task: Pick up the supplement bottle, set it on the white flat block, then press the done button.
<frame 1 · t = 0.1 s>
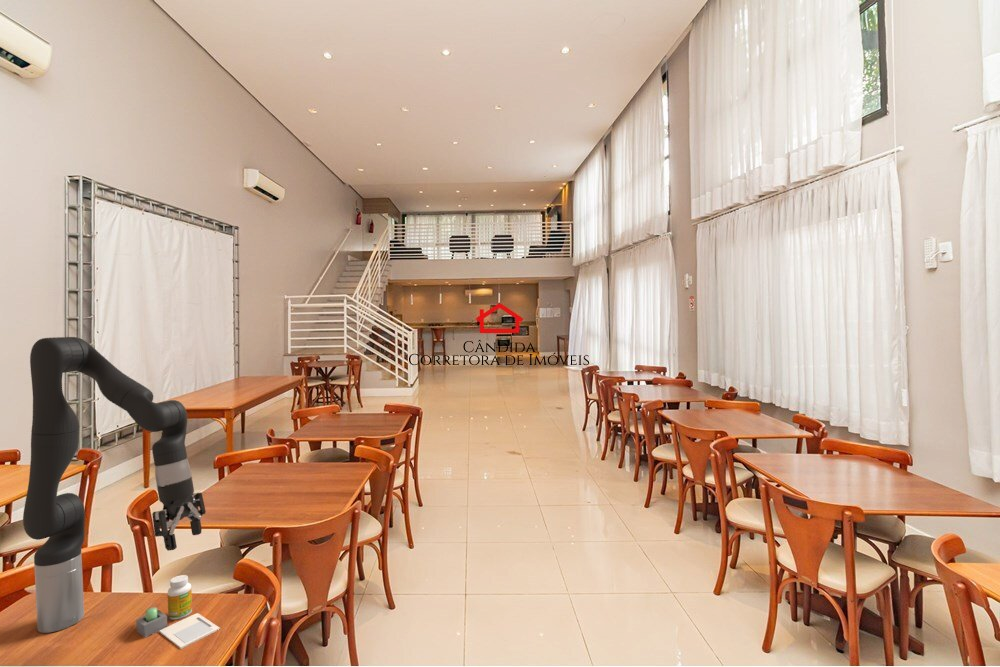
hand: (184, 541, 126), 22 cm above the table, tool pointing down, fingers open, 8 cm apart
button housing: (152, 629, 126), on the table
done button: (151, 616, 126), point 3 cm above the table, slide at 0.0 cm
supplement bottle: (180, 615, 133), on the table
white flat block: (189, 630, 125), on the table
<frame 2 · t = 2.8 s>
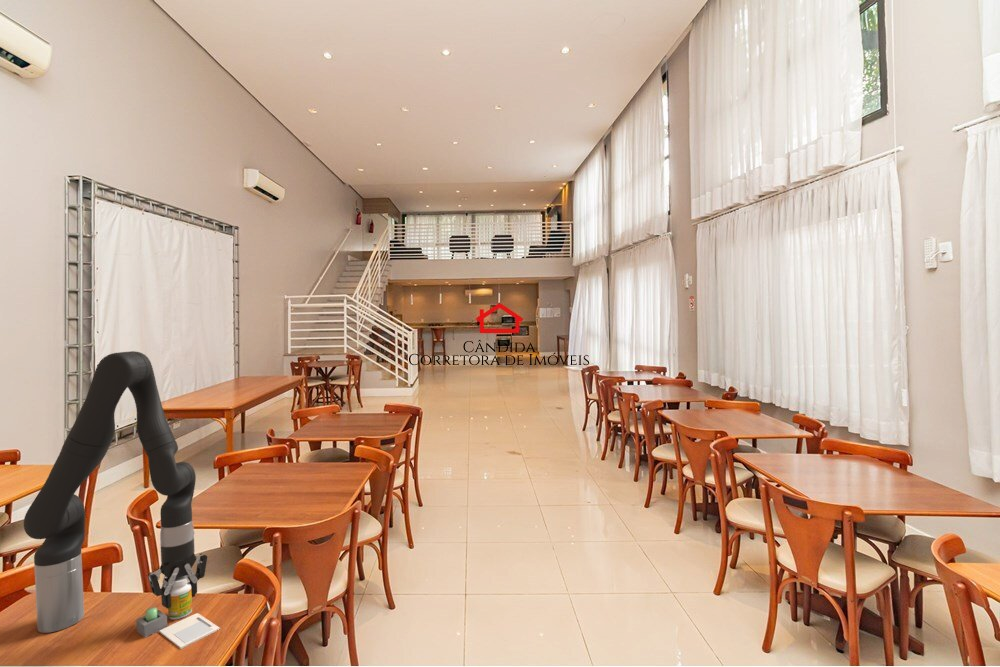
hand: (179, 601, 133), 4 cm above the table, tool pointing down, fingers closed on supplement bottle, 5 cm apart
supplement bottle: (180, 615, 133), on the table, touching gripper
everything else where it was.
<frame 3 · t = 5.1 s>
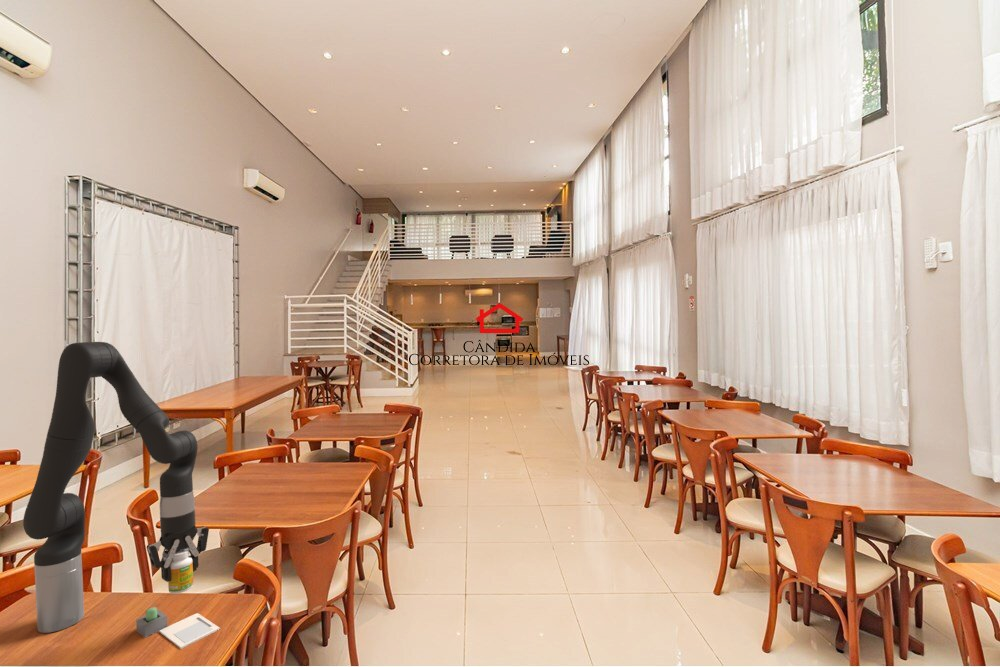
hand: (180, 575, 127), 13 cm above the table, tool pointing down, fingers closed on supplement bottle, 5 cm apart
supplement bottle: (181, 589, 127), point 9 cm above the table, touching gripper
everything else where it was.
when the fingers open (4 cm above the table, at t = 7.7 s): supplement bottle stays where it is, resting on white flat block.
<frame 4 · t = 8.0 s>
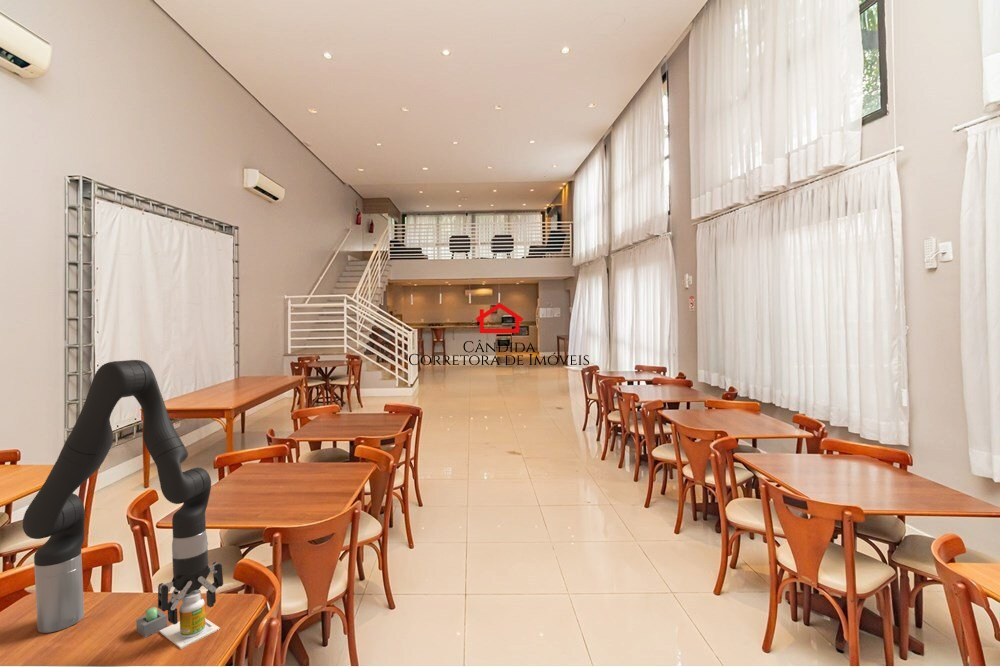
hand: (192, 614, 124), 5 cm above the table, tool pointing down, fingers open, 8 cm apart
supplement bottle: (193, 632, 124), resting on white flat block
everything else where it was.
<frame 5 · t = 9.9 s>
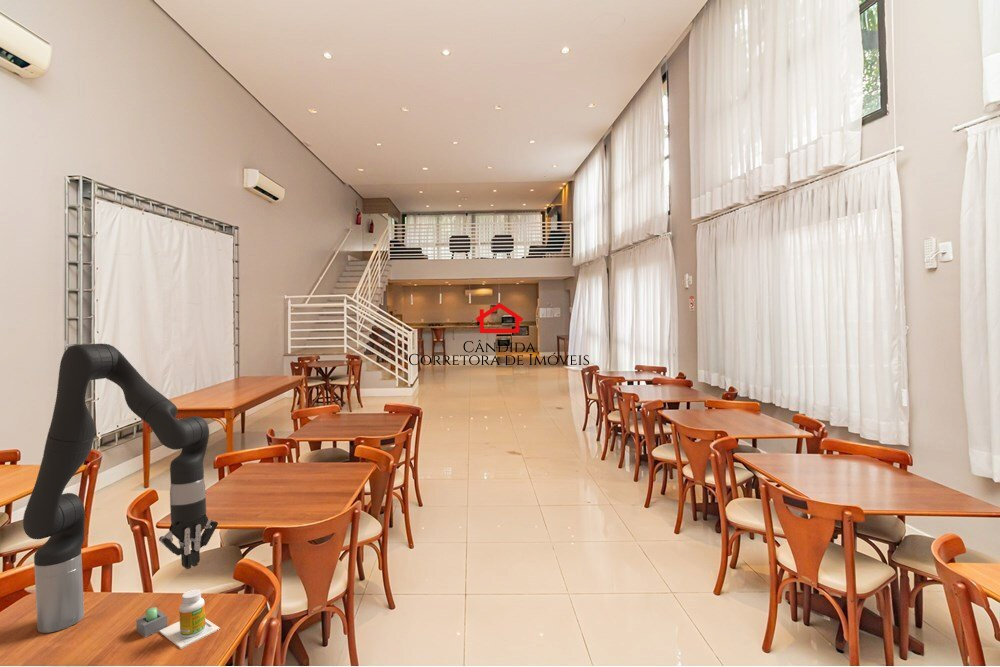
hand: (190, 566, 124), 17 cm above the table, tool pointing down, fingers closed
nothing on the table moved.
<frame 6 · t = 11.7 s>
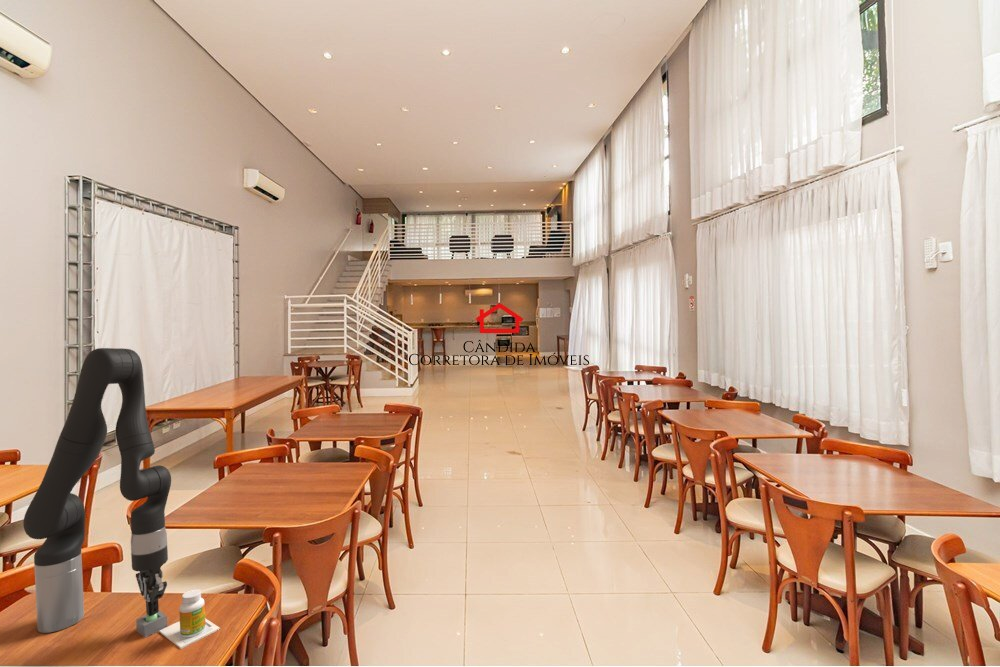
hand: (152, 613, 126), 4 cm above the table, tool pointing down, fingers closed
done button: (151, 620, 126), point 2 cm above the table, slide at 1.1 cm, touching gripper
everything else where it was.
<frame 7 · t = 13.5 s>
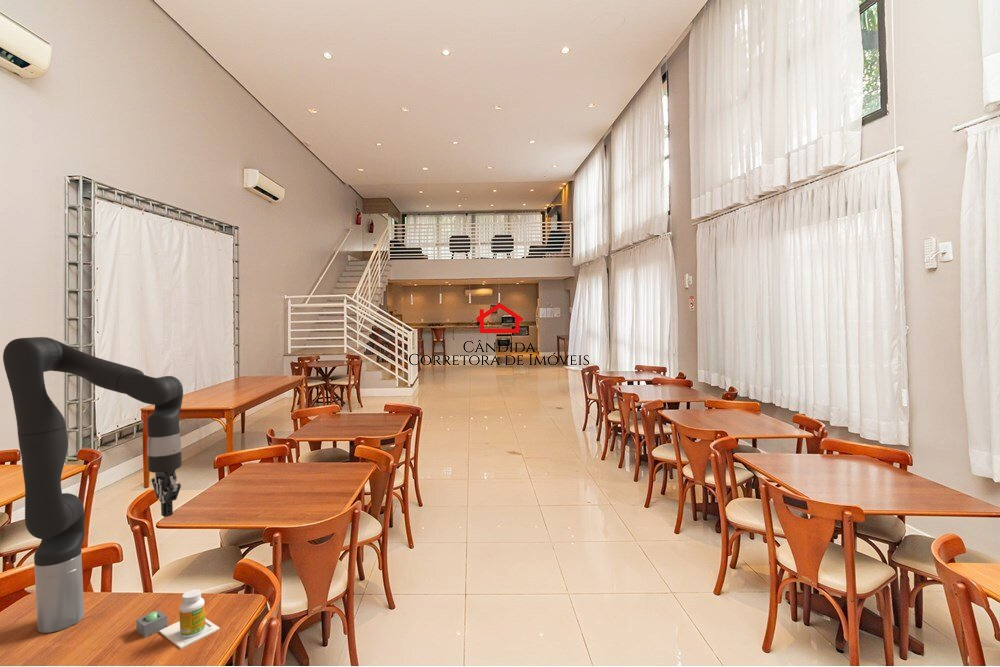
hand: (167, 515, 133), 27 cm above the table, tool pointing down, fingers closed
done button: (151, 620, 126), point 2 cm above the table, slide at 1.2 cm
everything else where it was.
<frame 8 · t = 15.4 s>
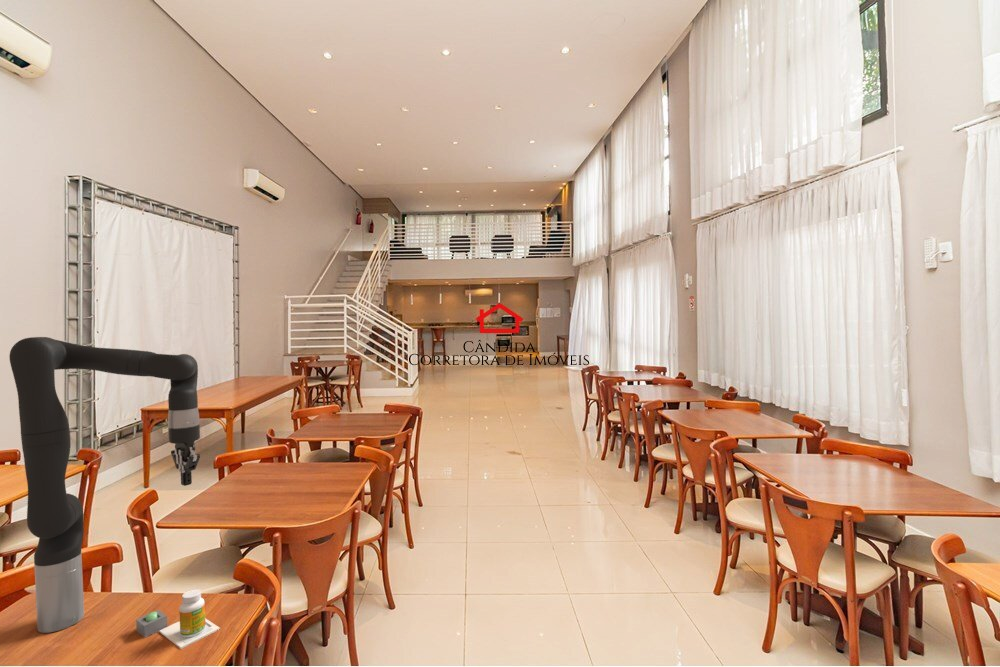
hand: (186, 484, 141), 32 cm above the table, tool pointing down, fingers closed
nothing on the table moved.
at the end: supplement bottle inside the target area (0.1 cm from its centre), resting on white flat block; supplement bottle tilted 0°; done button slide at 1.2 cm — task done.
